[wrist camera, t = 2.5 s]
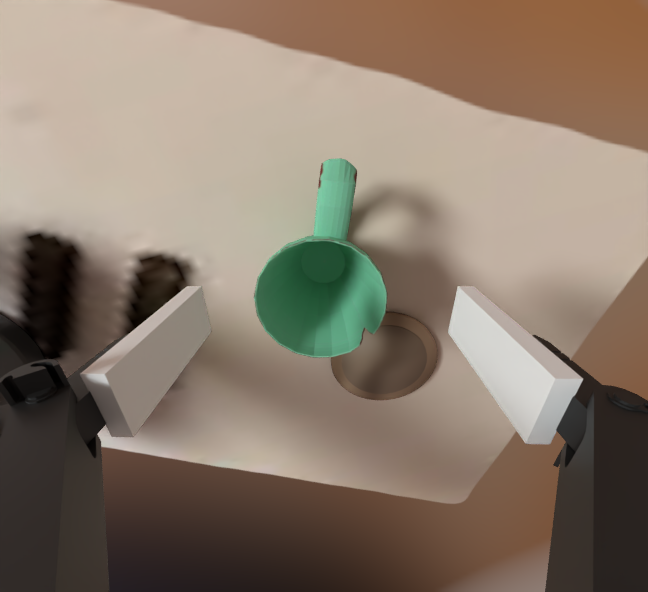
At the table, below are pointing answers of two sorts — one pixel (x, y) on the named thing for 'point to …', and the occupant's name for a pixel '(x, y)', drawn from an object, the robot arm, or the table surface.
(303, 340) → the mug
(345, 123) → the table surface
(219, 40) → the table surface
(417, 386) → the plate
